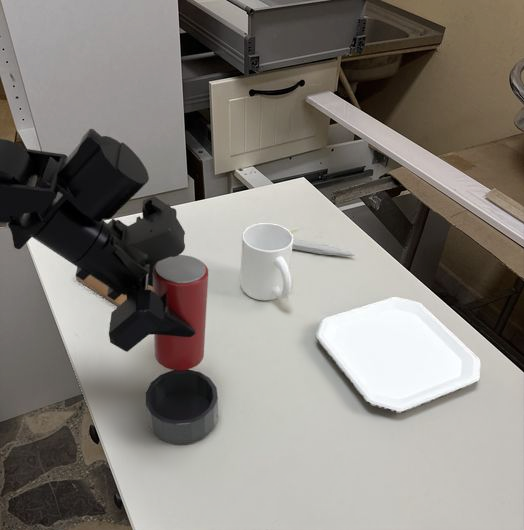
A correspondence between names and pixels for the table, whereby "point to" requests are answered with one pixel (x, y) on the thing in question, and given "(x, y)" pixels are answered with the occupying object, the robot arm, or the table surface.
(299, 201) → the table surface
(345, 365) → the plate
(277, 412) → the table surface
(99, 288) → the coaster
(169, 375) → the bowl
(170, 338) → the can
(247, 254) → the mug
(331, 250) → the tool
